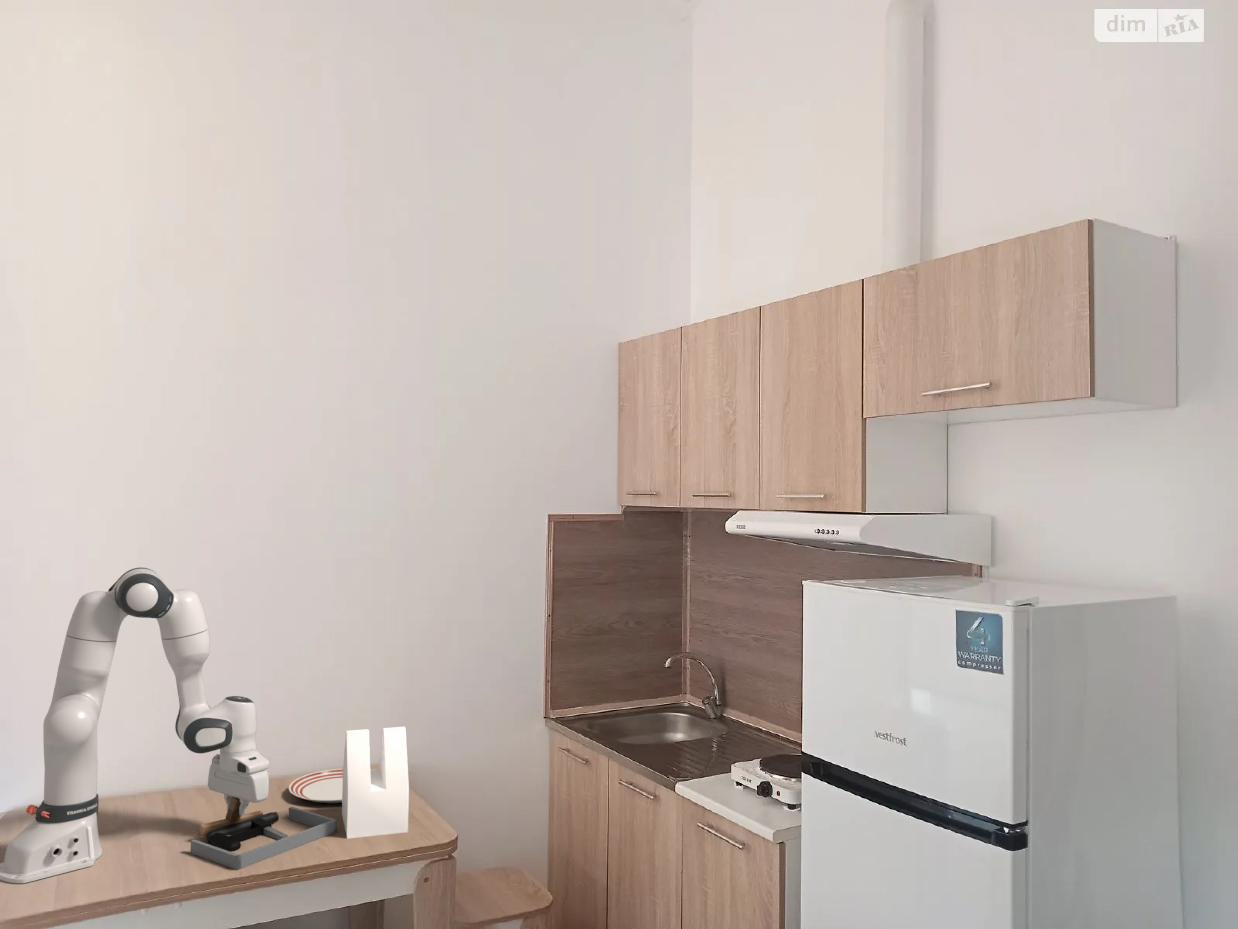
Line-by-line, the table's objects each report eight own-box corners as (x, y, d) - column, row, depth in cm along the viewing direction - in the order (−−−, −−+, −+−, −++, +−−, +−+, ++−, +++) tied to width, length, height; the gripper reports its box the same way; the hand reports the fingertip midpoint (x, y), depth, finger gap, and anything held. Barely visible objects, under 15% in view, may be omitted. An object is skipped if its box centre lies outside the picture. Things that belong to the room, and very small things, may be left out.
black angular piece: (307, 825, 246) (270, 808, 255) (237, 849, 230) (200, 830, 239) (306, 838, 246) (269, 820, 255) (236, 862, 230) (200, 843, 239)
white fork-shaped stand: (341, 814, 261) (343, 722, 261) (398, 808, 266) (400, 719, 266) (347, 839, 243) (349, 740, 243) (408, 832, 248) (410, 736, 248)
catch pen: (237, 870, 222) (237, 857, 222) (190, 853, 231) (190, 840, 232) (337, 831, 247) (337, 820, 247) (291, 817, 257) (291, 806, 257)
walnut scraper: (201, 837, 238) (210, 806, 237) (196, 833, 239) (206, 802, 238) (261, 822, 253) (270, 793, 253) (256, 818, 254) (265, 789, 254)
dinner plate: (387, 805, 269) (387, 793, 269) (284, 813, 261) (285, 800, 261) (384, 776, 295) (384, 765, 295) (291, 782, 288) (292, 771, 288)
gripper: (202, 755, 249) (200, 808, 249) (252, 769, 238) (251, 824, 238) (223, 750, 254) (222, 802, 254) (273, 763, 244) (272, 817, 243)
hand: (236, 813), depth 246 cm, fingers closed on walnut scraper, 3 cm apart
